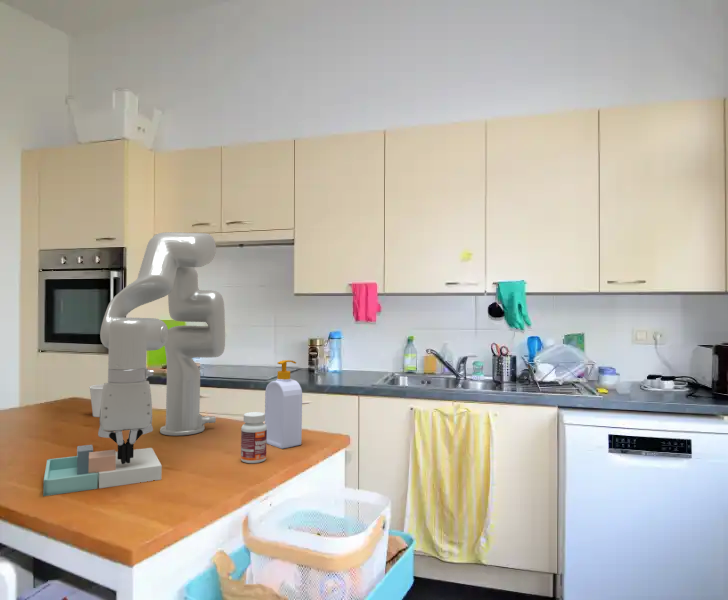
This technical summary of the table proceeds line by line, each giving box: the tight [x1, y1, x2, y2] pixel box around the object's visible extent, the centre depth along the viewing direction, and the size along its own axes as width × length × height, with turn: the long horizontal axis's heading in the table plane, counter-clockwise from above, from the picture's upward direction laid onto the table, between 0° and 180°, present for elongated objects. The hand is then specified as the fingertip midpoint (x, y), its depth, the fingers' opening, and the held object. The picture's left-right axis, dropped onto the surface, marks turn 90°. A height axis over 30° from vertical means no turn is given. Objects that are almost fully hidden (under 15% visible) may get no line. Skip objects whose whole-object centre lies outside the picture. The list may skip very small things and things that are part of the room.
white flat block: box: [96, 447, 163, 489], centre depth 115 cm, size 12×16×3 cm
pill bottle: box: [240, 411, 267, 464], centre depth 126 cm, size 6×6×11 cm
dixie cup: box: [88, 383, 104, 418], centre depth 175 cm, size 8×8×10 cm
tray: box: [42, 455, 98, 497], centre depth 110 cm, size 9×16×3 cm, turn 30°
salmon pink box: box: [88, 449, 116, 473], centre depth 109 cm, size 5×5×3 cm
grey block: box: [76, 444, 94, 475], centre depth 115 cm, size 5×5×3 cm
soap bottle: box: [264, 359, 303, 450], centre depth 142 cm, size 9×7×23 cm
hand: (125, 461), depth 111 cm, fingers closed
